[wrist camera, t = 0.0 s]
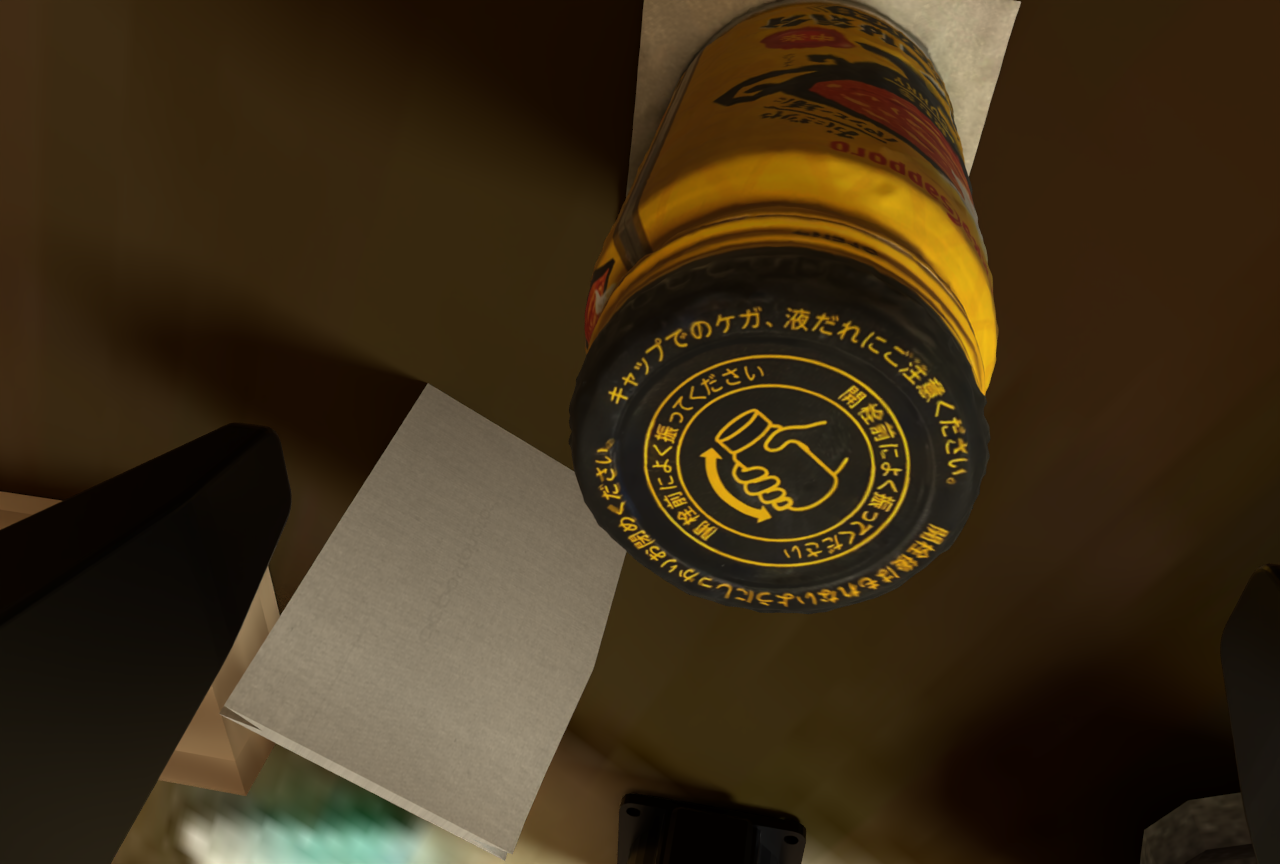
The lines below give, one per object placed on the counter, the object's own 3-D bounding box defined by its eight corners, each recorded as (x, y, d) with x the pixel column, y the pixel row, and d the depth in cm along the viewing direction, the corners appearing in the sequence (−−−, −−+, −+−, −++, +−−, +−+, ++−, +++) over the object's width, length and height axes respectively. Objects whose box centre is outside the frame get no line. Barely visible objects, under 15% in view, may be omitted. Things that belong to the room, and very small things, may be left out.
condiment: (1019, -2, 20) (1165, 278, 10) (912, 366, 25) (943, 786, 15) (649, -53, 21) (461, 165, 11) (616, 316, 26) (467, 689, 16)
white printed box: (428, 382, 28) (250, 661, 20) (637, 509, 29) (551, 819, 21) (376, 467, 30) (196, 750, 22) (573, 582, 31) (472, 890, 23)
